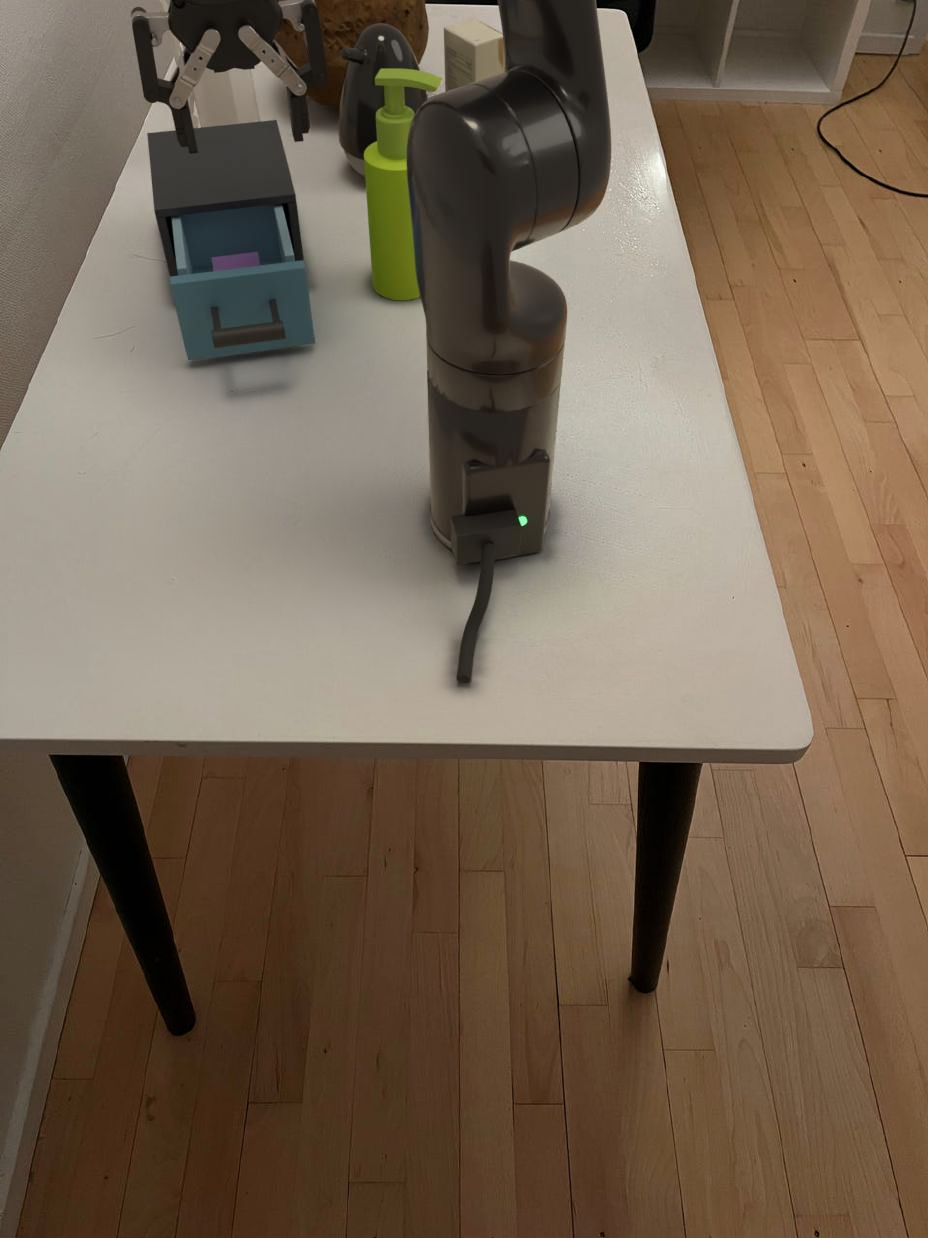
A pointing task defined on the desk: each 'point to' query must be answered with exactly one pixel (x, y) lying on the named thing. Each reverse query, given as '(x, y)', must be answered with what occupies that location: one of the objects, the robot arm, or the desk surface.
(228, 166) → the dark grey box
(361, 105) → the black penguin figurine
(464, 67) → the cosmetic box
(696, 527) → the desk surface
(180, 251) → the drawer
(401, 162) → the soap dispenser
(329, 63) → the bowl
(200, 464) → the desk surface
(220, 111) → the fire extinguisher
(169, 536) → the desk surface
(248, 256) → the lilac foam cube
